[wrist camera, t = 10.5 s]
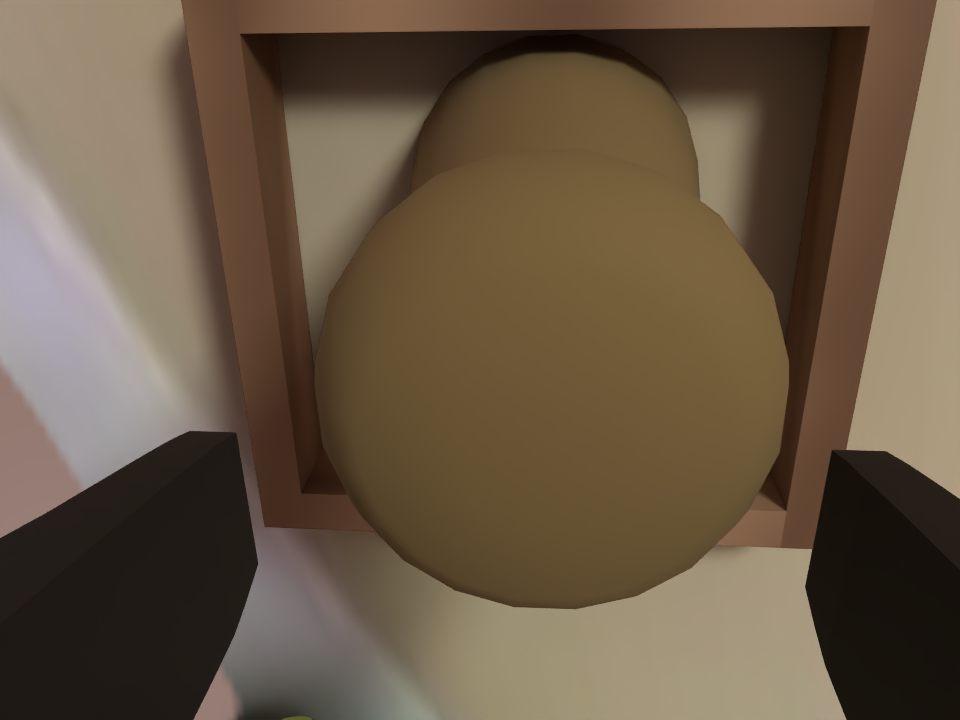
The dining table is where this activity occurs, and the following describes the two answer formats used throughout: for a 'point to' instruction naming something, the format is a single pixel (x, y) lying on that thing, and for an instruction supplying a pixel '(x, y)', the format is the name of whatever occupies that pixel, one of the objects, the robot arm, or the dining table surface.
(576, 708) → the dining table surface
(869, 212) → the walnut collar block
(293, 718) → the teapot
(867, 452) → the robot arm
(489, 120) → the cork
